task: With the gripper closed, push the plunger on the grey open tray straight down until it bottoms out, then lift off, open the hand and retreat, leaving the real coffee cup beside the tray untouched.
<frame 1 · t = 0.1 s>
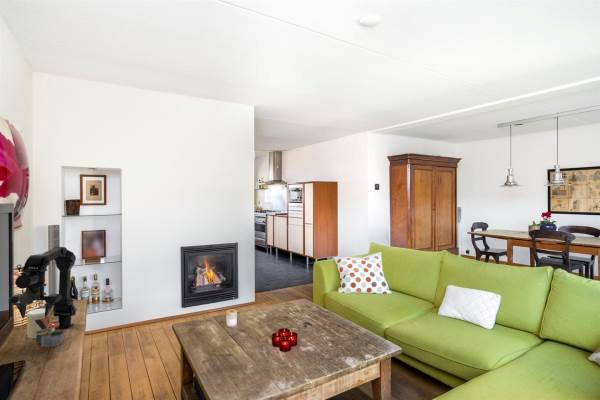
hand: (34, 317, 147), 15 cm above the table, fingers open, 9 cm apart
grey open tray: (52, 343, 154), on the table
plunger: (53, 328, 154), point 7 cm above the table, slide at 0.0 cm
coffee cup: (37, 335, 162), on the table
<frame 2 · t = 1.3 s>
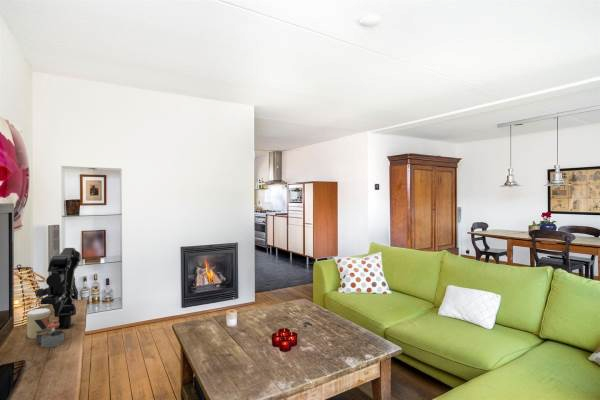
hand: (57, 313, 159), 13 cm above the table, fingers closed
nothing on the table moved.
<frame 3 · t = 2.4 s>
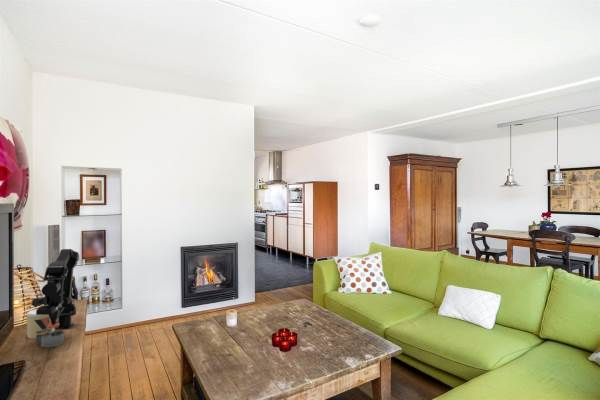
hand: (53, 323, 154), 9 cm above the table, fingers closed, pressing on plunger
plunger: (53, 329, 154), point 7 cm above the table, slide at 0.1 cm, touching gripper
everything else where it was.
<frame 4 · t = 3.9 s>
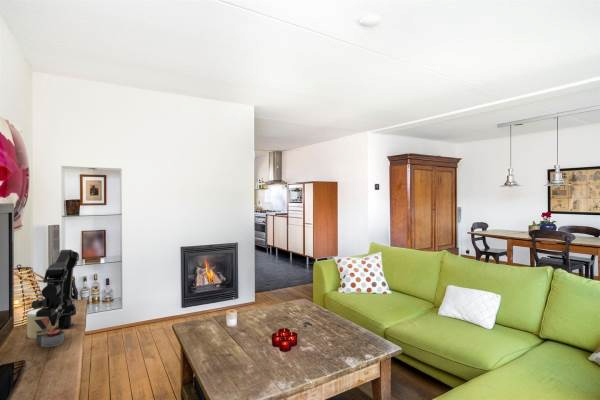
hand: (53, 325, 154), 8 cm above the table, fingers closed
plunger: (52, 336, 154), point 4 cm above the table, slide at 3.3 cm
everything else where it was.
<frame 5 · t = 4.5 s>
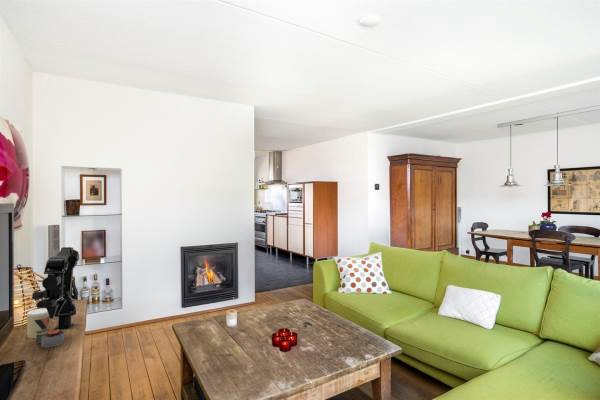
hand: (53, 317, 154), 12 cm above the table, fingers open, 4 cm apart
nothing on the table moved.
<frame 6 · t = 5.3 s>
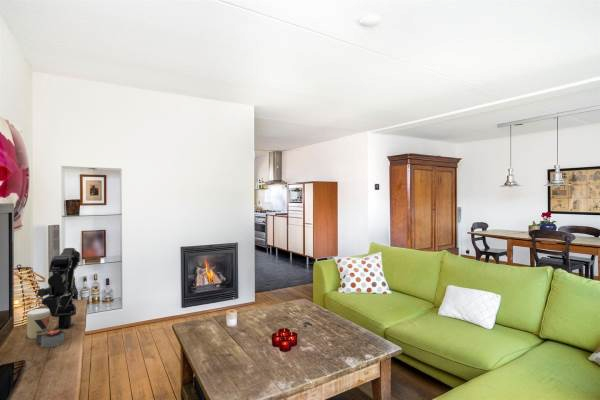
hand: (58, 313, 160), 12 cm above the table, fingers open, 9 cm apart
nothing on the table moved.
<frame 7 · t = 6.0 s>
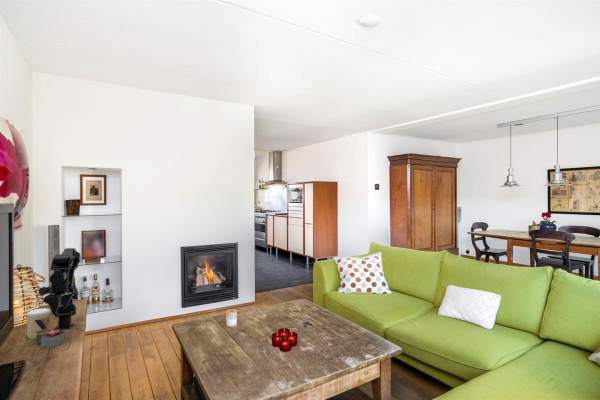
hand: (59, 311, 161), 13 cm above the table, fingers open, 9 cm apart
nothing on the table moved.
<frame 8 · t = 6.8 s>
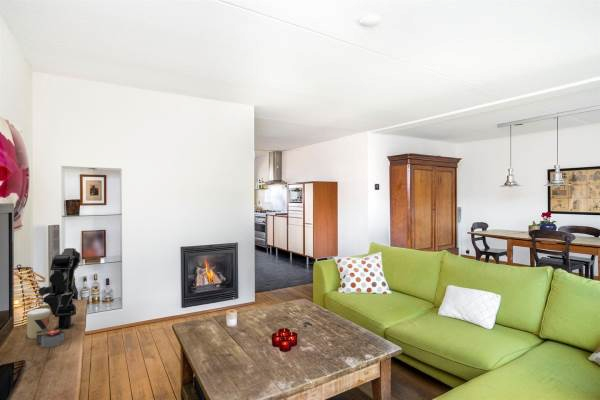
hand: (59, 311, 161), 13 cm above the table, fingers open, 9 cm apart
nothing on the table moved.
at the end: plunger slide at 3.3 cm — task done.
